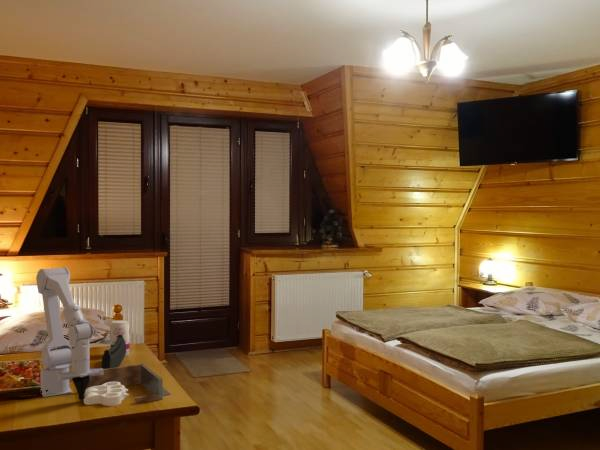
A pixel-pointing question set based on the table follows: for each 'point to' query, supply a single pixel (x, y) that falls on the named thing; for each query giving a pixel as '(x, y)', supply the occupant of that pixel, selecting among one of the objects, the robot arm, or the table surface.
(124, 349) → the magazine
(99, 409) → the table surface
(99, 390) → the white multi-hole holder
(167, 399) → the table surface
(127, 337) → the supplement can
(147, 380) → the bookend
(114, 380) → the shelf wall
